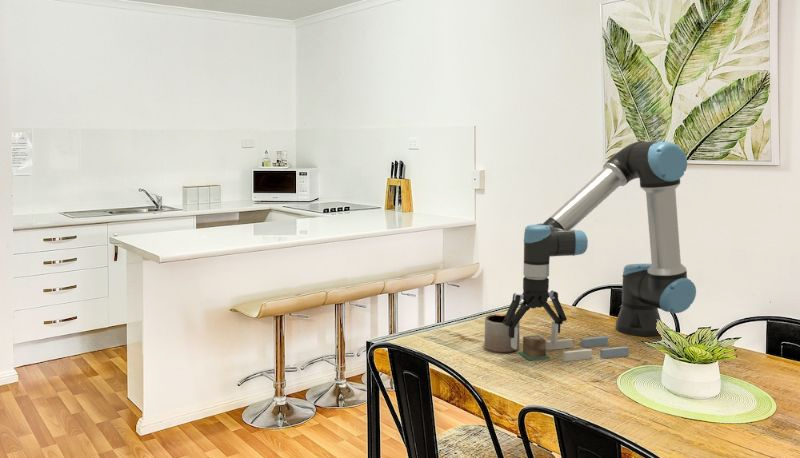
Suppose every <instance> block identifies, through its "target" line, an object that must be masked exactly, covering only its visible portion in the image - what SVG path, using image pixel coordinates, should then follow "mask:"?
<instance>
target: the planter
mask: <svg viewBox="0 0 800 458" xmlns="http://www.w3.org/2000/svg"><path fill="white" fill-rule="evenodd" d="M505 316H506V314H505V313H504V314H502V313H500V314H499V313H497V314H490V315H487V316H485V318H484V342H483V343H484V344H483V345H484V347H485V349H487V350H488V351H491V352H493V353H498V354H507V353H508V354H509V353H513V352H516V351H518V350H519V349H520V323H521V322H520V321H521V320H520V321H519V322H518V323H517V325H516V326H515V327H517V349H513V348H512V347H511V338H510V337H509V335H508V333H509V327H508V326H506V325H504V324H503V320H504V318H505Z"/></svg>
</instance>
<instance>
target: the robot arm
mask: <svg viewBox="0 0 800 458" xmlns="http://www.w3.org/2000/svg"><path fill="white" fill-rule="evenodd" d="M687 167H688V159H687V155H686V153H685V151H684V150H683V148H682V147H680V146H679V145H678V144H677V143H675V142H670V141H669V142H668V141H665V140H663V141H662V140H661V141H660V140H658V141H656V140H655V141H642V140H639V141H636V142H632V143H630V144H628V145H627V146H625V147H623V148H622V149H620V150H618V152H616V153H615V154H613V155H612V157H610V158H609V159H608V160H607V161H606V162H605V163H604V164H603V165H602V169H601V171H600V172H598V173H597V174H596V175H595V176H594V177H593V178H592V179H590V180H589V181H588V183H586V184H585V185H584V186H582V188H581V189H580V190H578V191H576V193H575V194H574V195H573V196H572V197H571V198H569V200H567V201H566V202H565V203H564V204H563V205H562V206H561V207H560V208H559V209H558V210H556V211H555V212H554V213H553V214H552V215H550V216H549V218H548V219H546V220H545V221H544V222H543V223H537V224H528V225H527V226H525V227H524V228H525V229H524V234H523V269H522V270H523V272H522V273H523V274H522V275H523V278H522V289H523V290H522V294H517V293H516V292H514V293H513V294H512V300H511V303H510V305H509V308H508V309H507V312H506V316H505V318H504V320H503V324H504V325H506V326H508V327H509V333H508V335H509V337H510V338H511V347H512V348H513V349H517V327H515V326H516V325H517V323H518V322H519V321H521V319H522V318H523V316H525V315H526V313H527V312H528V311H529V310H530V309H536V308H539V309H542V307H543V309H544V310H545V311H546V313H547V314H548V315H549V316H550V318H551V319H552V320H553V321H551V323H550V324H551V331H550V333H551V334H550V341H551V343H552V344H554V345H558V340H559V338H558V337H559V334H560V333H561V325H563V322H566V321H567V319H568V318H567V317H566V314H565V311H564V310H563V307H562V305H561V302H560V299H559V293H558V292H557V291H555V290H550V292H549V289H550V288H549V286H550V279H549V278H548V277H550V257H553V258H554V257H566V256H568V257H569V256H573V257H575V256H579V255H580V256H581V255H584V254H585V253H586V252H587V249H588V245H589V244H588V236H587V235H586V233H585V231H584V230H580V229H577V230H576V229H574V228H575V227H576V226H578V224H579V223H581V221H583V219H584V218H586V217H587V216H588V215H589V214H590V213H592V212H593V210H595V209H596V208H597V207H598V206H599V205H601V203H602V202H604V200H606V199H607V198H608V197H609V196H610V195H612V194H613V192H615V191H616V190H617V189H618V188H619V187H624V186H626V185H627V184H628V183H629V182H631V181H633V180H635V179H636V180H637V179H639V187H640V188H641V190H643V191H644V192H645V196H646V197H645V198H646V209H647V220H648V221H647V222H648V223H647V224H648V233H649V247H650V260H651V263H630V264H629V263H628V264H627V265H625V266H624V267H623V272H622V285H621V286H622V289H621V290H622V291H621V294H622V295H621V307H620V310H619V313H618V315H617V318H616V320H615V328H614V329H615V330H616V331H618V332H619V333H622V334H625V335H630V336H635V337H655V336H660V335H659V333H658V331H657V329H656V319H659V320H660V321H661V322H662V320H661V316H660V313H659V309H660V310H662V311H664V312H667V313H672V314H680V313H683V312H685V311H686V310H688V309H690V307H691V305H693V303H694V302H695V299H696V296H697V289H696V285H695V283H694V282H693V281H692V280H691V279H689V278H688V274H687V273H688V272H687V267H686V266H684V264H682V263H681V262H682V260H681V249H680V248H681V247H680V235H679V233H680V232H679V222H678V221H679V220H678V208H677V207H678V206H677V195H676V194H677V193H676V189H677V188H678V187H679V186H680V185H681V178H682V177H683V176H684V175H685V172H686V171H687ZM548 299H550V300H551V303H552V305H553V307H554V310H555V311H554V310H553V308H552V307H551V305H550V304H549V302H548ZM522 300H523V301H522ZM520 302H522V303H521V304H520Z"/></svg>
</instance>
